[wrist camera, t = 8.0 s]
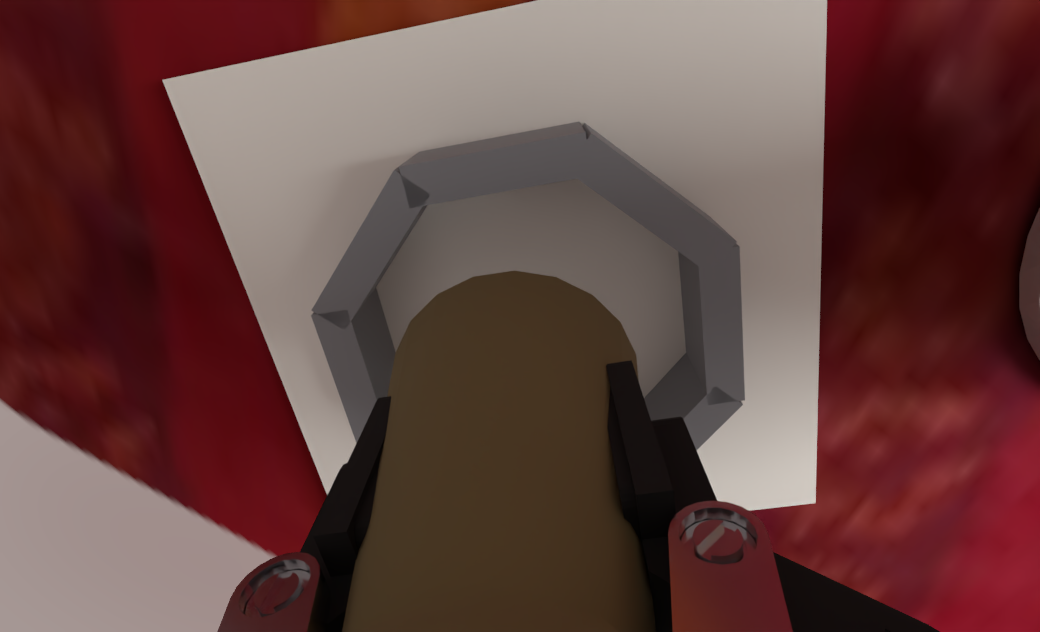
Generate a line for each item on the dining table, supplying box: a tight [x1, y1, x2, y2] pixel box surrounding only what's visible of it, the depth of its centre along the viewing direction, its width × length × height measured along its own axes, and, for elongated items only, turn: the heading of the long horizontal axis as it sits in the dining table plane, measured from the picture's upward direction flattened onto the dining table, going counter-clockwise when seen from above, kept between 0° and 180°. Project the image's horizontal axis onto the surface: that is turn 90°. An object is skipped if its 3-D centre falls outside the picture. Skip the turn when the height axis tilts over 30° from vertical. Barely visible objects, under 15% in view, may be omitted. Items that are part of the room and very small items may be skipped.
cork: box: [342, 271, 656, 632], centre depth 9 cm, size 6×6×11 cm
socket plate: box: [162, 0, 827, 511], centre depth 17 cm, size 17×17×4 cm
